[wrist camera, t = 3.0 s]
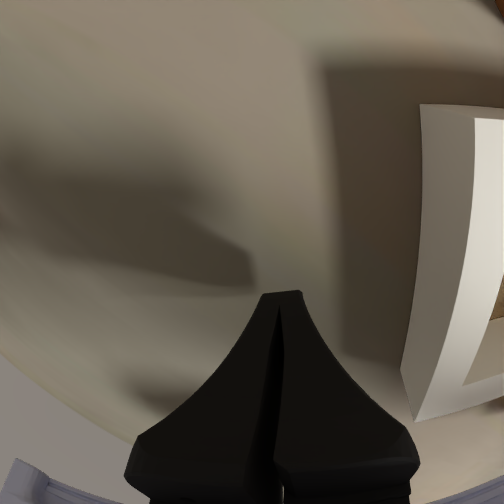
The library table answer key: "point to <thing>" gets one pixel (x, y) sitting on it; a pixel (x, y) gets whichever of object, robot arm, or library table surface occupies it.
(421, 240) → the socket block
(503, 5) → the dowel
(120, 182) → the library table surface
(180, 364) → the library table surface
